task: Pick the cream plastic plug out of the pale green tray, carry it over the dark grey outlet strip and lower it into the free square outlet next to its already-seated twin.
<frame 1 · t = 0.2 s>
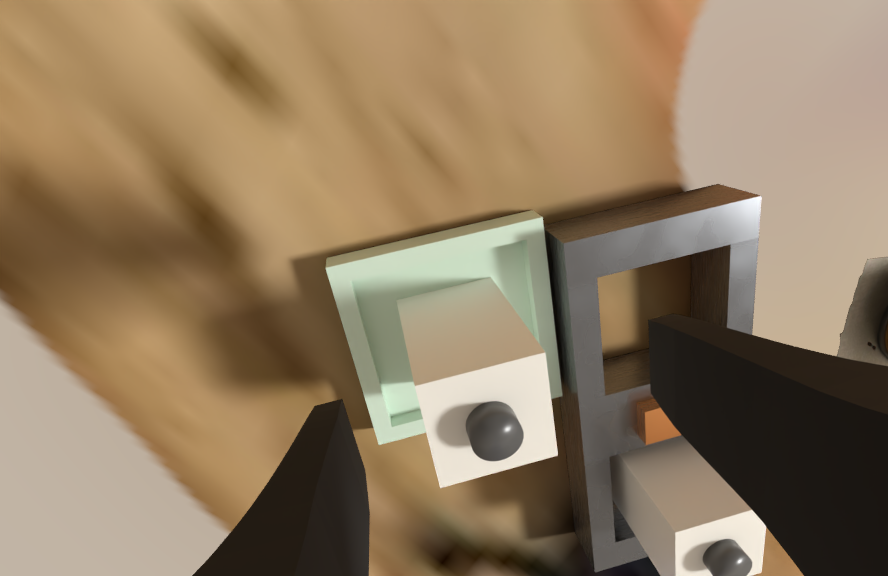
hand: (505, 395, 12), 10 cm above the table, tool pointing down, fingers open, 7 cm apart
twin plug: (639, 450, 27), resting in outlet strip
outlet strip: (637, 381, 25), on the table
tray: (450, 325, 22), on the table
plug: (452, 330, 22), resting on tray
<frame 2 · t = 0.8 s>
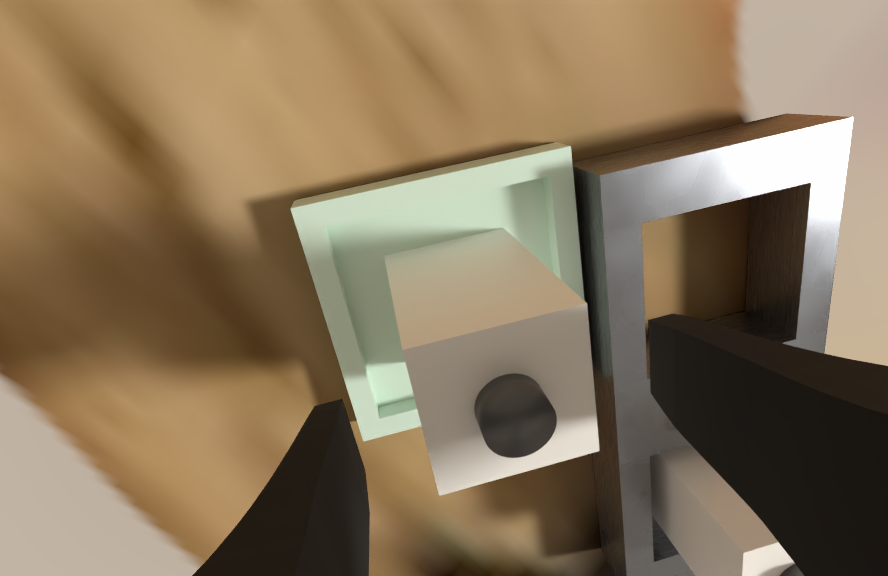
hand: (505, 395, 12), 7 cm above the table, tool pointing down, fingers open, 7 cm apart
twin plug: (679, 450, 22), resting in outlet strip
outlet strip: (679, 364, 20), on the table
tray: (452, 291, 18), on the table
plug: (455, 297, 17), resting on tray
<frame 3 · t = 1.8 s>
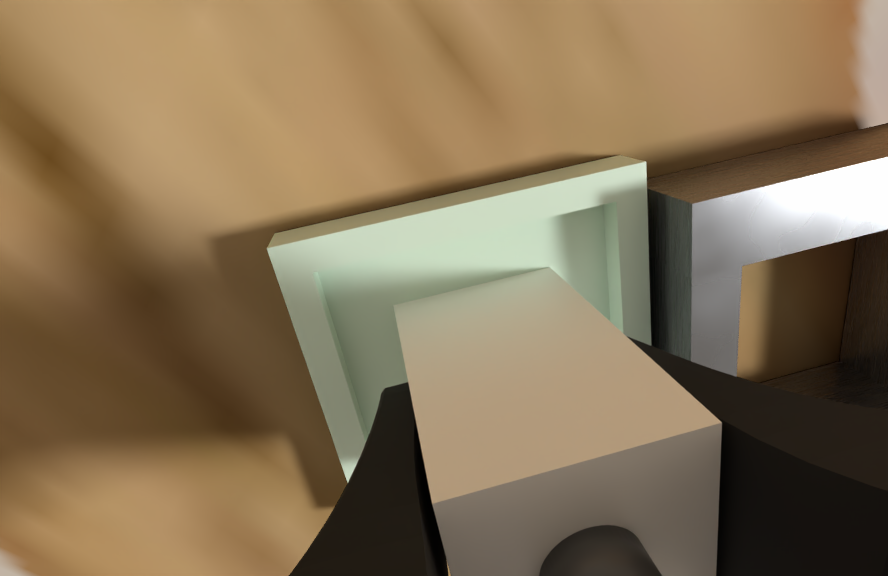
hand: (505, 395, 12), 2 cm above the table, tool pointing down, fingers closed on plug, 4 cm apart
outlet strip: (756, 426, 17), on the table
tray: (480, 345, 14), on the table
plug: (484, 354, 13), resting on tray, touching gripper
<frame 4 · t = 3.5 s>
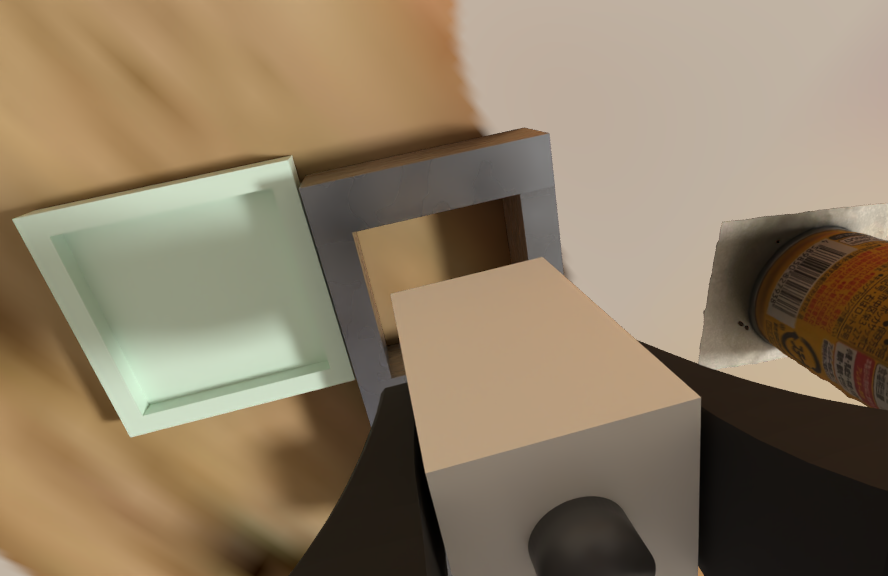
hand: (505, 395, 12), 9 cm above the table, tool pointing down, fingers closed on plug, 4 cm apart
outlet strip: (460, 364, 21), on the table
tray: (212, 295, 19), on the table
condiment: (786, 286, 23), on the table
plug: (480, 342, 14), point 7 cm above the table, touching gripper
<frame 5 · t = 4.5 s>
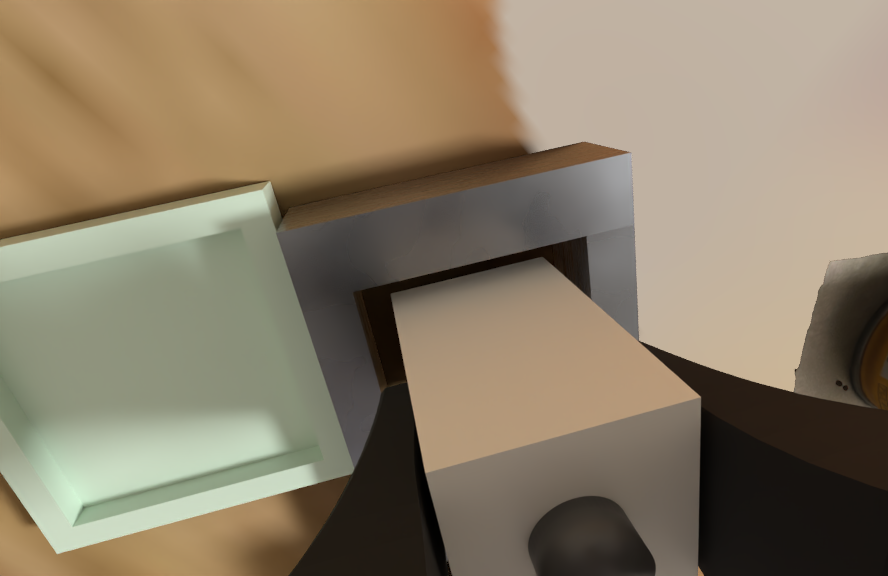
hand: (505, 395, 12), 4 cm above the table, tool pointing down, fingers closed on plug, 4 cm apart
outlet strip: (491, 441, 17), on the table
tray: (165, 366, 14), on the table
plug: (479, 342, 14), point 2 cm above the table, touching gripper
when the fingers open (3 cm above the table, at t = 5.1 s): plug stays where it is, resting in outlet strip.
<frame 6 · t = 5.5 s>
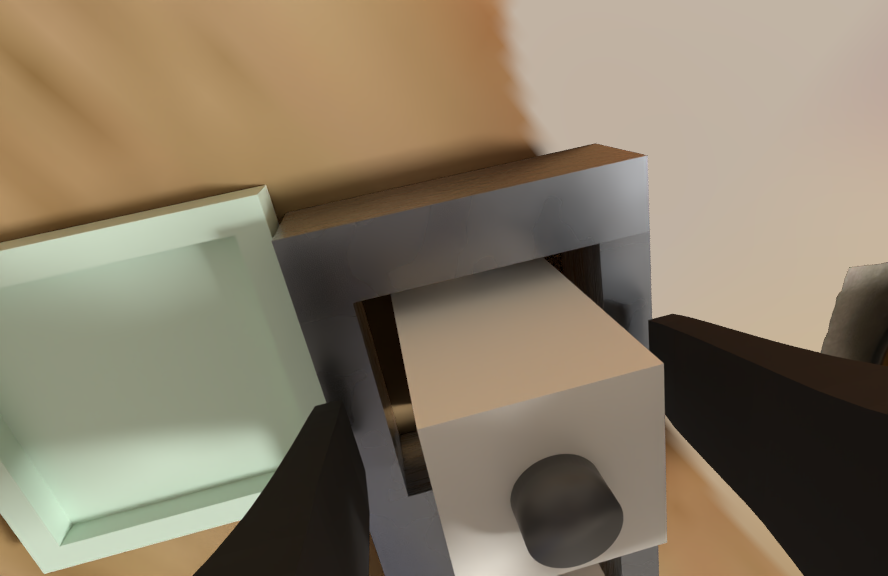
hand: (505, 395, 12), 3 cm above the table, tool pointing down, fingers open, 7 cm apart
twin plug: (514, 551, 18), resting in outlet strip
outlet strip: (496, 454, 16), on the table
tray: (156, 378, 13), on the table
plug: (472, 327, 14), resting in outlet strip
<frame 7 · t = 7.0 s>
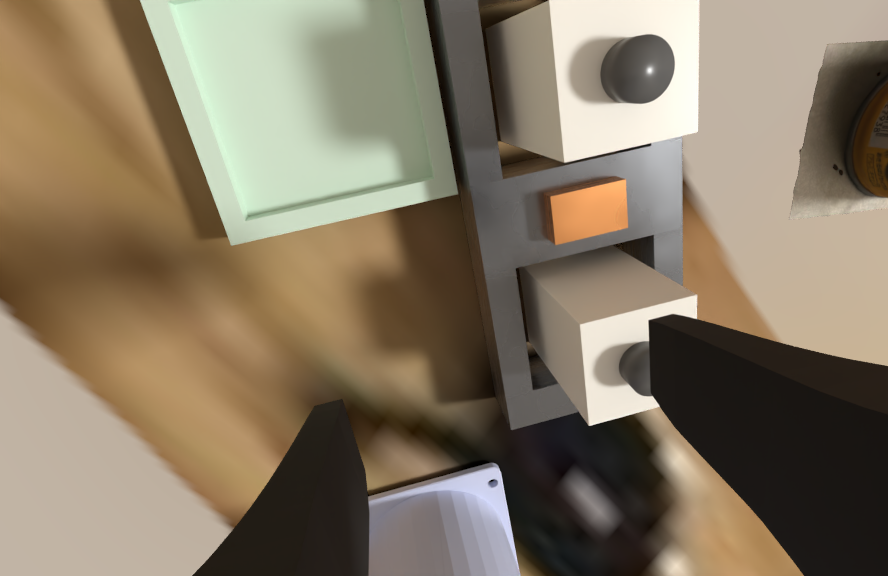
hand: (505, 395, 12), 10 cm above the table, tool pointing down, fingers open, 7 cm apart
twin plug: (566, 292, 23), resting in outlet strip
outlet strip: (556, 195, 21), on the table
tray: (316, 98, 18), on the table
condiment: (881, 129, 23), on the table
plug: (543, 76, 19), resting in outlet strip
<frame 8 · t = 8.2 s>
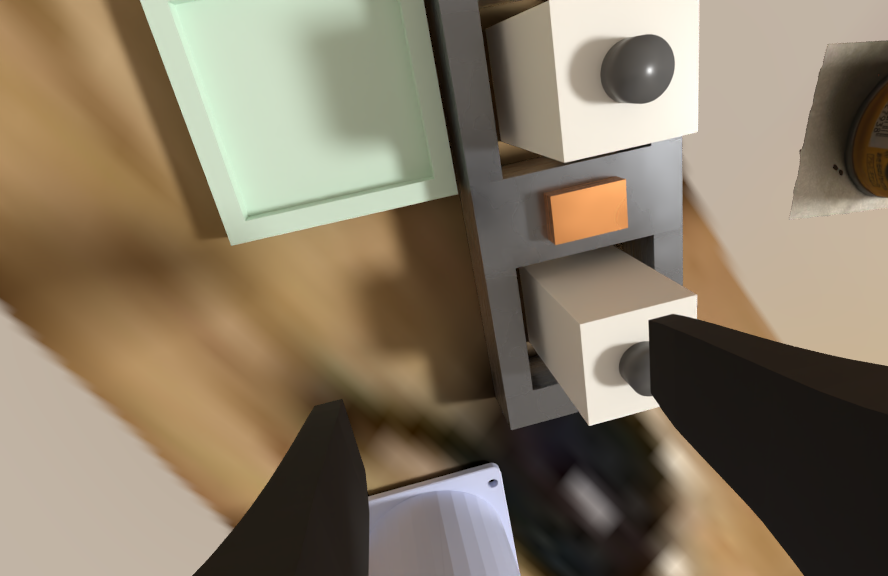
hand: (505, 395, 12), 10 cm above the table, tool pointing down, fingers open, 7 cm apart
twin plug: (566, 292, 23), resting in outlet strip
outlet strip: (556, 195, 21), on the table
tray: (316, 98, 18), on the table
condiment: (881, 129, 23), on the table
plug: (543, 76, 19), resting in outlet strip
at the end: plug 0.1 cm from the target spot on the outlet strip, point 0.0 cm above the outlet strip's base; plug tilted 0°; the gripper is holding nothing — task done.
